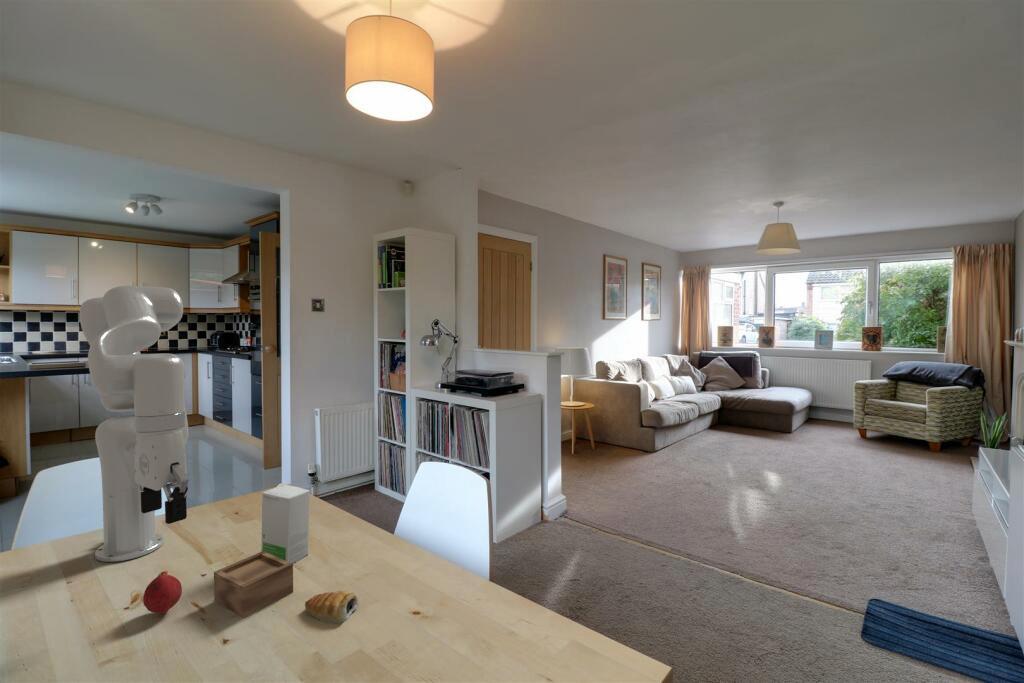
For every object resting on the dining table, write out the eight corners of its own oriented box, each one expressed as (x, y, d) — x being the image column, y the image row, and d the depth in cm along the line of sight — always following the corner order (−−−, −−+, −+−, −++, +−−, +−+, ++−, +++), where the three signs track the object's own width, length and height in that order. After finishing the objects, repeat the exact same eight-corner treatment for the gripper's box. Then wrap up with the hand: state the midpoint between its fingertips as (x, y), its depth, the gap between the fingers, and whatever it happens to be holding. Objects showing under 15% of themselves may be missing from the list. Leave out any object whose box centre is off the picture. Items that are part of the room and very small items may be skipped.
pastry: (296, 620, 89) (296, 599, 89) (318, 599, 96) (318, 580, 96) (343, 626, 87) (343, 606, 87) (362, 605, 94) (362, 586, 94)
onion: (162, 625, 87) (161, 581, 86) (135, 620, 88) (134, 577, 88) (189, 606, 92) (188, 565, 92) (164, 602, 94) (163, 561, 93)
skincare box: (260, 560, 110) (259, 492, 109) (284, 547, 116) (283, 483, 116) (288, 567, 107) (287, 498, 106) (311, 554, 113) (310, 488, 112)
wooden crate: (214, 601, 94) (213, 572, 94) (263, 577, 103) (263, 551, 102) (244, 618, 89) (243, 587, 89) (293, 592, 98) (292, 563, 97)
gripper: (116, 422, 91) (119, 513, 91) (158, 431, 81) (161, 533, 82) (162, 416, 97) (165, 501, 97) (206, 424, 88) (209, 518, 88)
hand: (163, 515), depth 90 cm, fingers open, 9 cm apart
